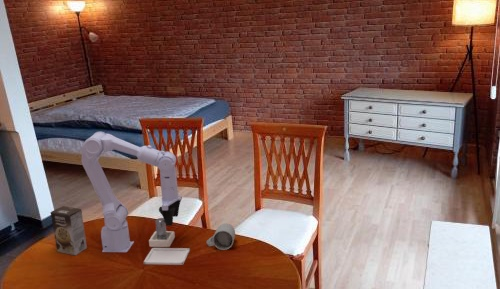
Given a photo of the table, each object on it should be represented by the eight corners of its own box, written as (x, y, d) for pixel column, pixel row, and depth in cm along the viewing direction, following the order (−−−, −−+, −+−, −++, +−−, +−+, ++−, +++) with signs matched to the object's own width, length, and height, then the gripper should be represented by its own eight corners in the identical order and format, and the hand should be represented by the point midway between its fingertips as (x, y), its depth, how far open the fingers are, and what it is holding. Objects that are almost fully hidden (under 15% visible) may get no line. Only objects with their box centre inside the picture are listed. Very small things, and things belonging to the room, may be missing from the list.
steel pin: (156, 244, 167) (154, 222, 165) (159, 239, 171) (156, 217, 168) (165, 244, 167) (163, 222, 164) (168, 239, 170) (166, 218, 168)
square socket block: (149, 247, 166) (148, 240, 165) (155, 238, 173) (155, 231, 172) (169, 248, 165) (168, 240, 164) (174, 238, 172) (174, 231, 171)
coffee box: (56, 252, 165) (49, 212, 161) (69, 244, 171) (62, 205, 167) (75, 256, 162) (68, 215, 158) (87, 247, 168) (81, 208, 163)
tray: (143, 265, 154) (143, 262, 153) (152, 250, 163) (152, 247, 163) (183, 266, 152) (182, 262, 152) (189, 251, 162) (189, 248, 161)
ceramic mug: (236, 239, 169) (235, 220, 167) (234, 250, 161) (232, 230, 159) (208, 240, 170) (207, 221, 168) (205, 250, 162) (203, 231, 160)
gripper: (174, 193, 153) (177, 229, 157) (185, 179, 167) (187, 212, 170) (154, 193, 154) (158, 229, 157) (166, 179, 168) (169, 212, 171)
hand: (172, 220), depth 164 cm, fingers open, 7 cm apart
